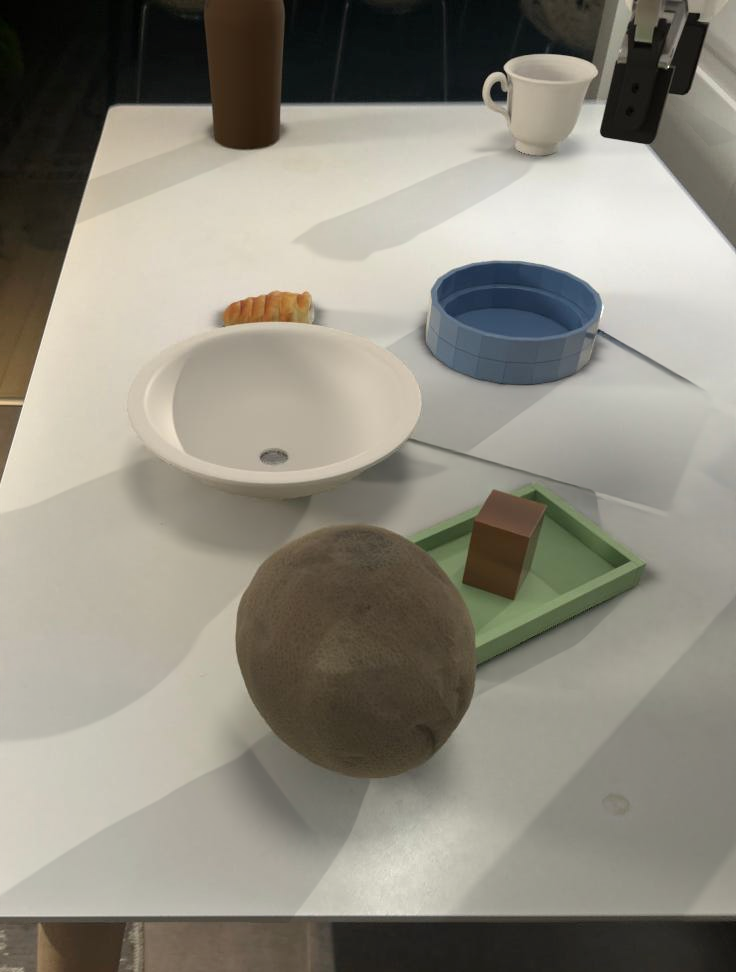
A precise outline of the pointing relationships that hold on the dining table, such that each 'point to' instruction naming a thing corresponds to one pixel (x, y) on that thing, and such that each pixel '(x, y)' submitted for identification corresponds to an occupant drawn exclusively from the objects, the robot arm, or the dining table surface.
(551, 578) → the tray
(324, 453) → the vessel sink basin
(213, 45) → the olive oil
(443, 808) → the dining table surface
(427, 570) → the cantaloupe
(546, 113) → the teacup
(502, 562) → the block
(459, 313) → the blue bowl
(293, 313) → the pastry
